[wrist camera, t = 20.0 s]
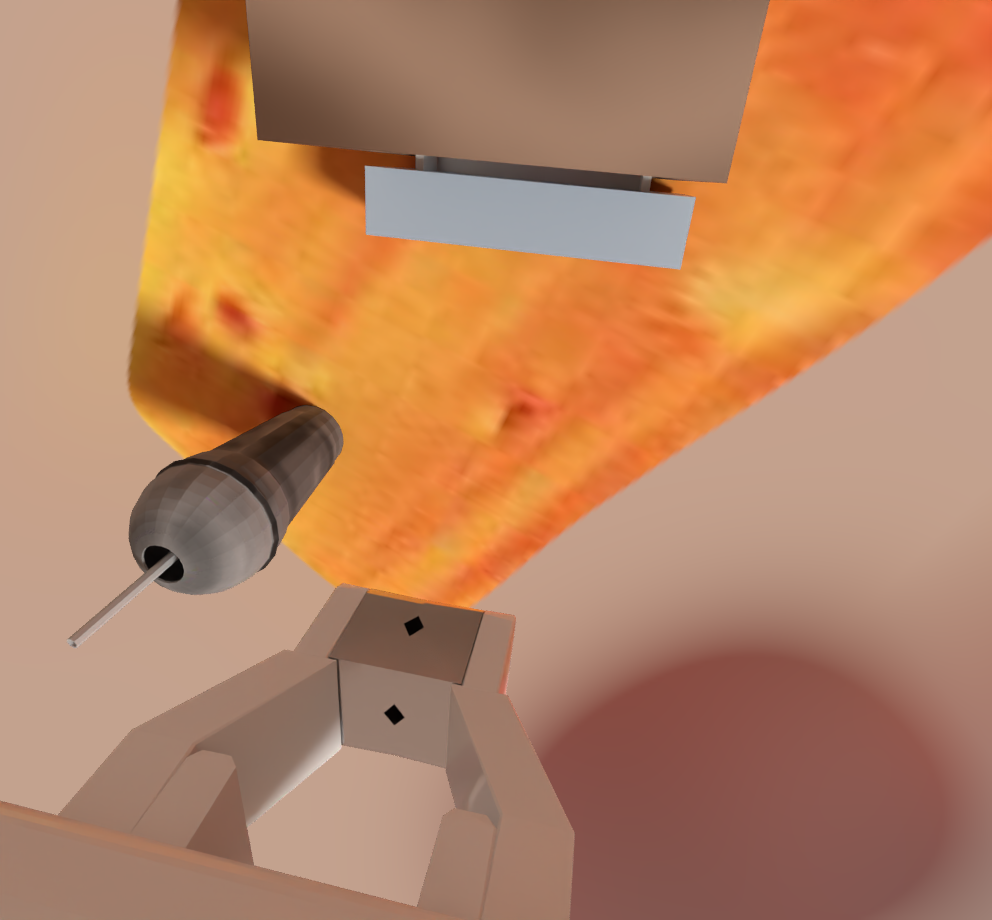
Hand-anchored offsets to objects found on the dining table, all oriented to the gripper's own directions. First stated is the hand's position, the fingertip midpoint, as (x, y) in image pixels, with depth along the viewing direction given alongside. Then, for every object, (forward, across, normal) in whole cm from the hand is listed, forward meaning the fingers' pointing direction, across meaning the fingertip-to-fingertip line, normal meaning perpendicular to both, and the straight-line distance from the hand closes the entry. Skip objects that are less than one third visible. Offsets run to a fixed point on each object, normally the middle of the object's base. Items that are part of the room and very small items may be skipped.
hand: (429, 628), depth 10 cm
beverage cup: (+28, +16, +11) cm, 34 cm away
